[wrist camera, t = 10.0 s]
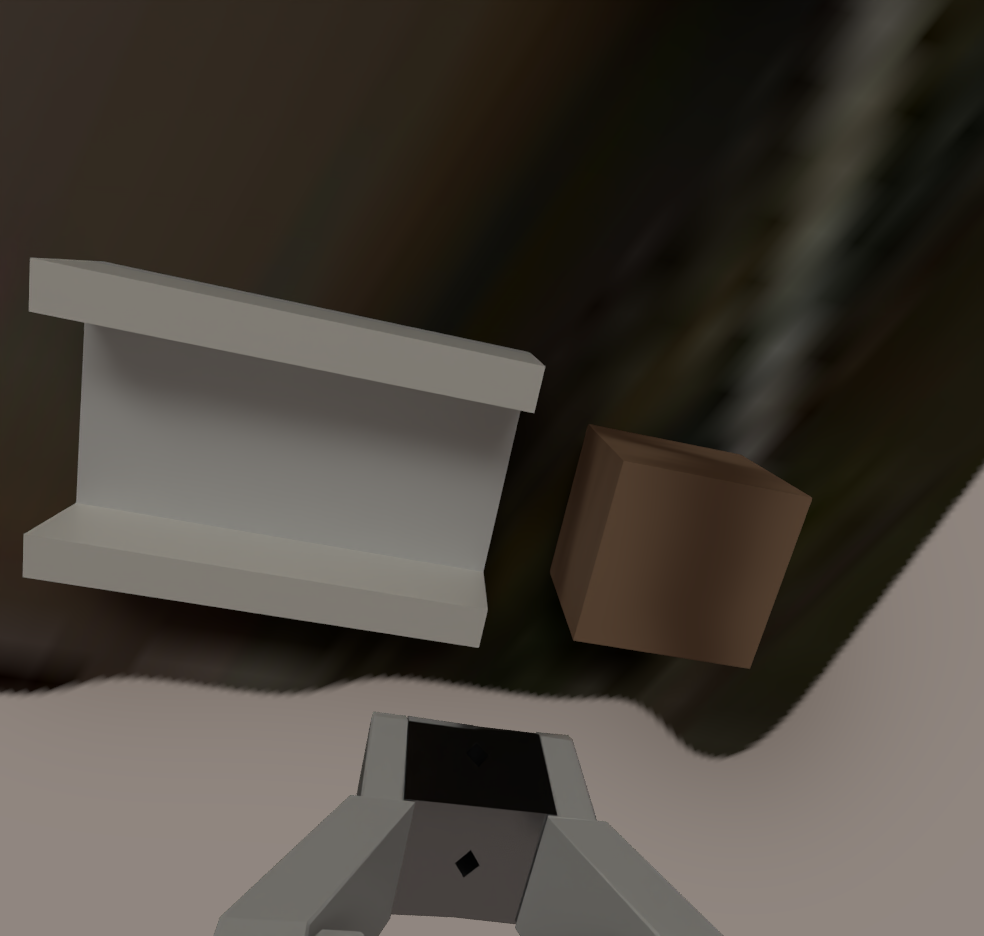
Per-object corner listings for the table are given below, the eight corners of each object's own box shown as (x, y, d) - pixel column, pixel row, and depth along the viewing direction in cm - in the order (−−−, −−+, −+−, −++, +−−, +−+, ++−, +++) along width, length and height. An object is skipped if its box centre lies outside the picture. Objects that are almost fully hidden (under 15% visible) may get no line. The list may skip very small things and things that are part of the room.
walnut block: (549, 571, 25) (573, 640, 20) (588, 423, 24) (623, 460, 19) (694, 596, 26) (749, 668, 21) (740, 454, 24) (812, 497, 19)
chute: (89, 530, 25) (22, 577, 21) (103, 261, 22) (30, 257, 18) (474, 594, 26) (478, 647, 23) (529, 352, 24) (545, 366, 20)
